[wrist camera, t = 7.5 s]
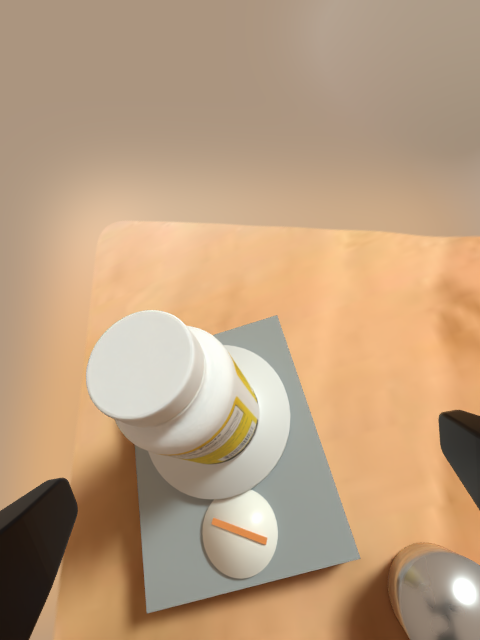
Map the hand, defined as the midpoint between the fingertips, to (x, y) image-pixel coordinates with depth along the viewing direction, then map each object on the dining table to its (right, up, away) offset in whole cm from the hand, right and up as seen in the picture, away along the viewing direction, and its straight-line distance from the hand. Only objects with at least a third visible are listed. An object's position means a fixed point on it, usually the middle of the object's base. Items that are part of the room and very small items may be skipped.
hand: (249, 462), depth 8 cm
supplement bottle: (-2, -2, +12) cm, 12 cm away
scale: (-1, -5, +13) cm, 14 cm away
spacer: (+9, -10, +8) cm, 16 cm away
